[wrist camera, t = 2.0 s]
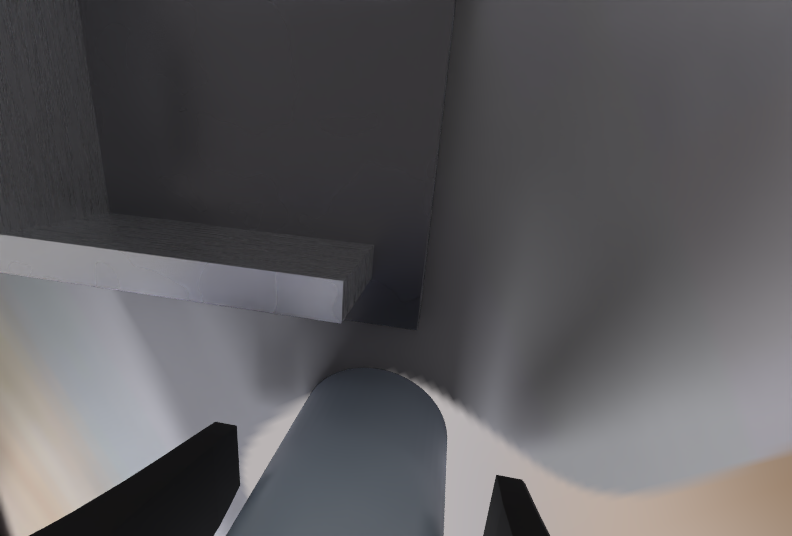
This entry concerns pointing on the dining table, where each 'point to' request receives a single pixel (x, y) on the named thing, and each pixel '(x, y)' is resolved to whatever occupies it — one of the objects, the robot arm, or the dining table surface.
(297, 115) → the motor
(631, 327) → the dining table surface
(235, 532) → the banded grey cylinder
